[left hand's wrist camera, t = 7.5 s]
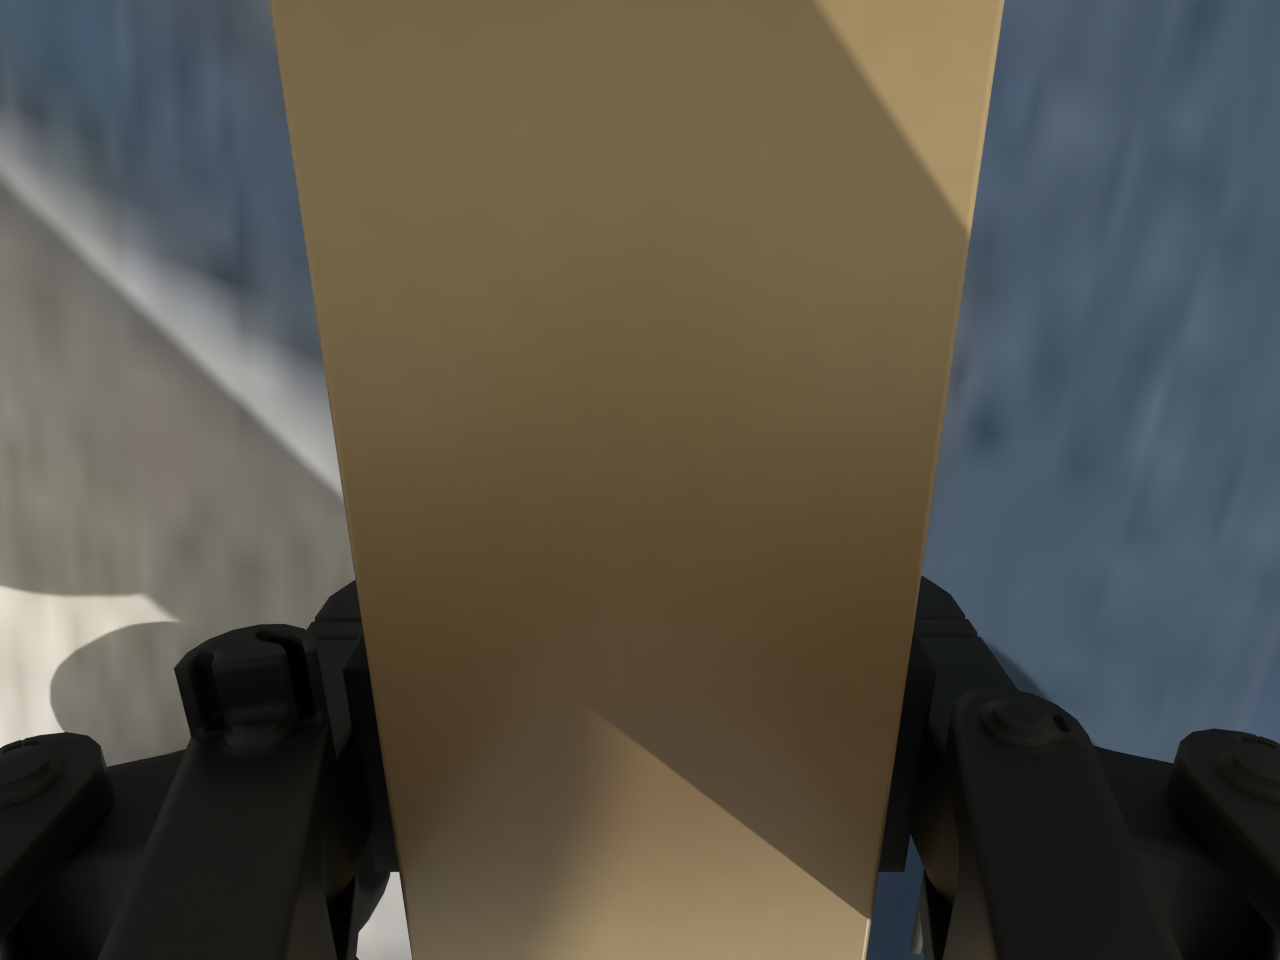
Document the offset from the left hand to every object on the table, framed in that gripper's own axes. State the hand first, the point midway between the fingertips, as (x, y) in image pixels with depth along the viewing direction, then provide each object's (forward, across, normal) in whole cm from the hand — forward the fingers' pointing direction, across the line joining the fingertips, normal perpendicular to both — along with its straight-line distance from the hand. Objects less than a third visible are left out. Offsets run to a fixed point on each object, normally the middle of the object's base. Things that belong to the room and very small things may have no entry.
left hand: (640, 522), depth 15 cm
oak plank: (0, 0, -10) cm, 10 cm away
